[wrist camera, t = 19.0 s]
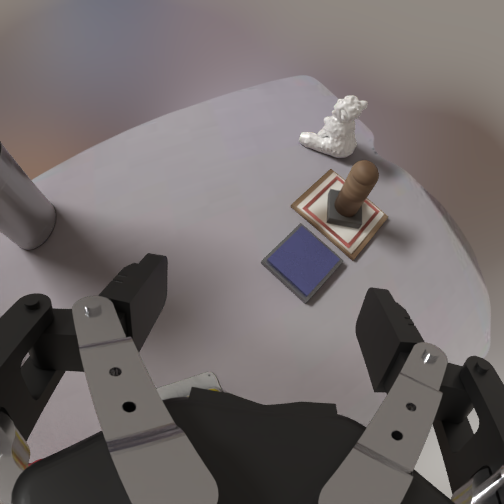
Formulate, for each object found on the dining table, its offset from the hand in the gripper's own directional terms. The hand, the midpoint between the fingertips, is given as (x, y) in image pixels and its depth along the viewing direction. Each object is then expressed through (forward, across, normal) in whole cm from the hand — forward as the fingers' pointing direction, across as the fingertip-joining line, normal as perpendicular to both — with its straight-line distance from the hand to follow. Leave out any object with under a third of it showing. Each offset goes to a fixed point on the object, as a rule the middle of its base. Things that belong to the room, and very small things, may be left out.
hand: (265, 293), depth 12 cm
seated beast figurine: (+45, -10, -5) cm, 46 cm away
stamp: (+34, -12, +4) cm, 37 cm away
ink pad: (+29, -6, +11) cm, 31 cm away
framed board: (+35, -12, +5) cm, 37 cm away
